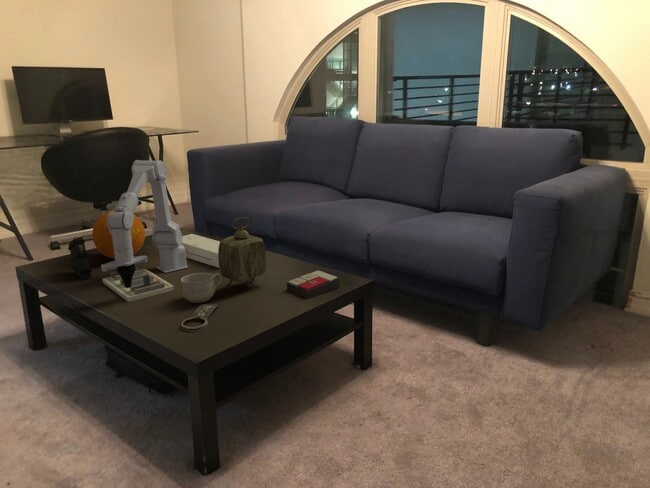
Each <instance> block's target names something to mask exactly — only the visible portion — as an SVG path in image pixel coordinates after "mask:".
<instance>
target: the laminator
mask: <svg viewBox="0 0 650 488" xmlns="http://www.w3.org/2000/svg"><path fill="white" fill-rule="evenodd" d="M181 244H182V245H183V246H184V248H185V251H186V259H187V258H188V259H191V260H193V261H196V262H200V263H203V264H205V265H206V264H207V265H209V266H213V267H215V268H219V261H218V249H219V244H220V240H215V239H212V238H208V237H206V236H201V235H199V234H194V233H190V234H185V235H182V242H181ZM219 269H220V268H219Z"/></svg>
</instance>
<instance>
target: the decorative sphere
mask: <svg viewBox="0 0 650 488" xmlns="http://www.w3.org/2000/svg"><path fill="white" fill-rule="evenodd" d="M112 211H114V209H113V210H109V211H107V212H105V213H103V214H101V215H100V216H99V217H98V218H97V220H96V221H95V223H94V225H93V228H92V235H91V237H92V240H93V244H94V246H95V248H96V249H97V250H98V252H99V253H100V254H102V255H103V256H105V257H107V258H109V259H114V260H115V255H114V247H113V239H112V235H111V234H110V231H109V228H108V227H107V224H106V222H107V216H108V214H109V213H111V212H112ZM130 231H131V240H132V248H133V256H135V255H136V254H137V253H138V252H139V251H140V250H141V249H142V247H143V245H144V243H145V239H146V229H145V225H144V224H143V222H142V220H141V219H140V218H139V217H138V216H137V215H136V214H134V218H133V225H132V227H131V228H130Z"/></svg>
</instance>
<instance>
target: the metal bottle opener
mask: <svg viewBox="0 0 650 488" xmlns="http://www.w3.org/2000/svg"><path fill="white" fill-rule="evenodd" d="M220 306H221V305H220V304H213V303H212V304H211V303H202V304H200V305H199V306H198V307H197V308H196V309H195V310H194V311H193V312H192V314H191V316H190V317H189V318H186V319H184V320H183V321H182V322H181V323H180V327H181V329H182V330H184V331H186V332H197V331H201V330H202V331H203V330H204V329H205V328H207V327H208V323H209V322H208V320H210V316H211V314H212V313H213V312H214V311H215V309H216V308H217V309H219V307H220ZM194 322H197V323H198V322H200V323H201V322H202V323H203V324H201V325H198V326H186V325H187V324H188V323H194Z"/></svg>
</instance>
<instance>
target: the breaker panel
mask: <svg viewBox="0 0 650 488" xmlns="http://www.w3.org/2000/svg"><path fill="white" fill-rule="evenodd" d="M115 274H116V272H115V271H114V272H111V273H110V276H109V277H108V276H107V277H103V278H101V279H102V283H103V284H104V285H105V286H107V287H108V288H109V289H111V290H112V291H113V292H115V293H116V294H117V295H118V296H120V297H121V298H123V299H124V300H125V301H126V302H128V303H130V302H133V301H137V300H142V299H145V298H149V297H153V296H155V295H160V294H164V293H169V292H171V291H175V288H174V287H175V286H174V285H173V284H172V283H170V282H169V281H166V280H165V279H163V278H161V277H160V276H158V275H156V274H155V273H153V272H152V271H150V270H148V269H147V268H143V269H140V267H138V266H136V270H135V272H134V274H133V278H132V282H131V287H130V288H126V287H125V286H124V283H123V280H122V278H121V276H120V275H116V276H115ZM146 274H148V275H149V277H150V286H146V287H144V286H143V285H144V281H143V275H146Z"/></svg>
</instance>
